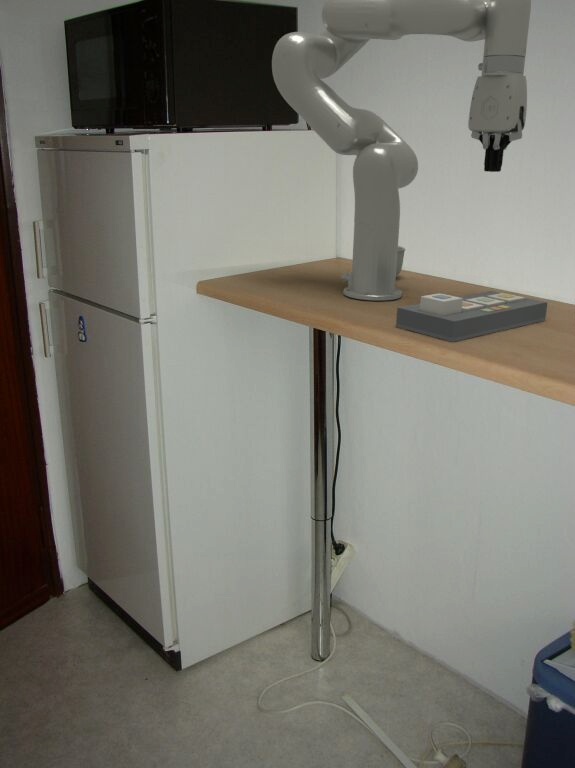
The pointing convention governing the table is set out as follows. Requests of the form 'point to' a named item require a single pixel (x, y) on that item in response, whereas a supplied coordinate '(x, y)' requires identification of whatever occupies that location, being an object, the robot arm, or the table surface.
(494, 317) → the keypad base
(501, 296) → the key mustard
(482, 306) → the key terracotta
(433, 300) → the key slate
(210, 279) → the table surface
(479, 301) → the key sage
